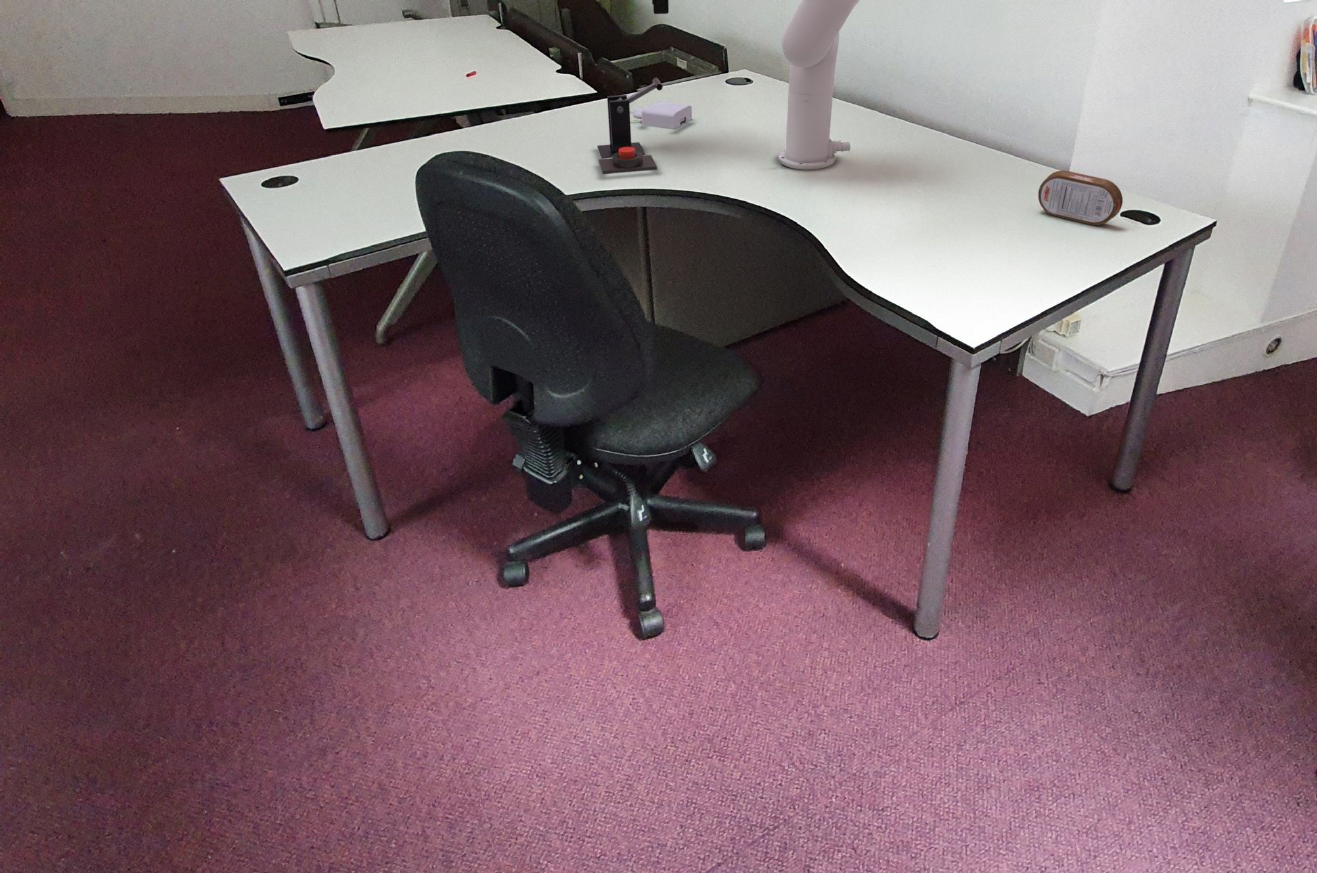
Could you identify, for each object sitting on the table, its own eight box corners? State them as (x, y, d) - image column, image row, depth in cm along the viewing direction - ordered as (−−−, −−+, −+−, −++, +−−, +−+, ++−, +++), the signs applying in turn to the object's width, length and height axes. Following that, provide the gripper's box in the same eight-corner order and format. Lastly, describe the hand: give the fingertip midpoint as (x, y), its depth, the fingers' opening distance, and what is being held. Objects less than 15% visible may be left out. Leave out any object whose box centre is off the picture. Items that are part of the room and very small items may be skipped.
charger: (641, 116, 243) (692, 123, 236) (622, 126, 236) (674, 133, 230) (640, 97, 240) (691, 104, 234) (621, 106, 234) (673, 113, 227)
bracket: (639, 147, 222) (637, 91, 215) (645, 159, 215) (643, 101, 207) (597, 150, 221) (593, 94, 214) (602, 162, 214) (598, 105, 206)
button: (634, 154, 208) (633, 146, 207) (636, 159, 205) (636, 151, 204) (618, 155, 208) (617, 147, 207) (620, 160, 205) (619, 152, 204)
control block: (651, 162, 213) (650, 146, 211) (657, 173, 206) (656, 158, 204) (598, 166, 211) (597, 151, 209) (603, 178, 205) (602, 162, 203)
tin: (1117, 226, 175) (1128, 182, 170) (1110, 231, 173) (1122, 186, 168) (1038, 207, 184) (1047, 165, 179) (1032, 212, 182) (1040, 170, 177)
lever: (660, 84, 213) (655, 74, 212) (664, 90, 209) (660, 80, 207) (614, 111, 215) (609, 101, 213) (617, 117, 210) (612, 108, 209)
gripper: (678, -76, 186) (679, 16, 196) (674, -86, 200) (675, 1, 210) (641, -75, 186) (643, 17, 196) (639, -85, 200) (642, 2, 210)
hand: (660, 9), depth 203 cm, fingers open, 9 cm apart
